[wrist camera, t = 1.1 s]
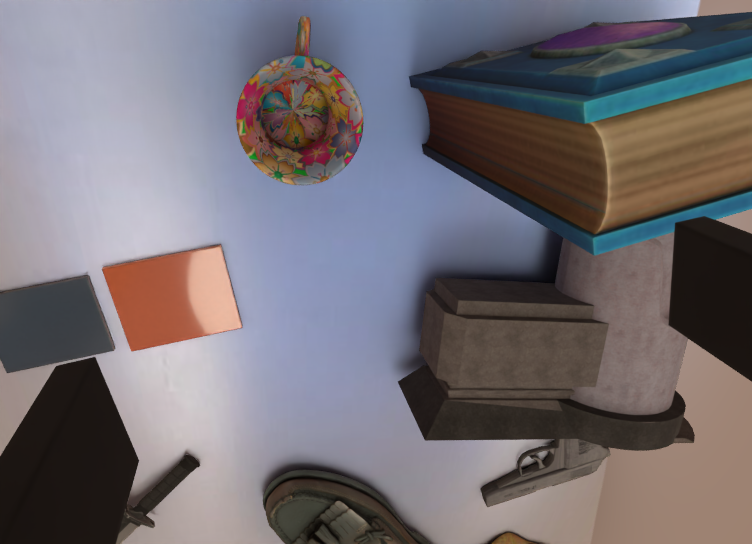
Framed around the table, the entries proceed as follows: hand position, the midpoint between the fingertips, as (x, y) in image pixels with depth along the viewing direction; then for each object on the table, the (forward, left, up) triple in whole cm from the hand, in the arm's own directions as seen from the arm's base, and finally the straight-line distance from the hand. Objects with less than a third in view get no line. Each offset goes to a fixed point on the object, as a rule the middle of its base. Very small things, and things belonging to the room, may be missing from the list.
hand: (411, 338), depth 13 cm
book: (0, +23, -43) cm, 49 cm away
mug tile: (+15, -15, -42) cm, 47 cm away
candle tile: (+15, -27, -42) cm, 52 cm away
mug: (-2, 0, -43) cm, 43 cm away
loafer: (+50, -1, -42) cm, 65 cm away
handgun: (+38, +23, -41) cm, 61 cm away
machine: (+32, +20, -34) cm, 51 cm away
